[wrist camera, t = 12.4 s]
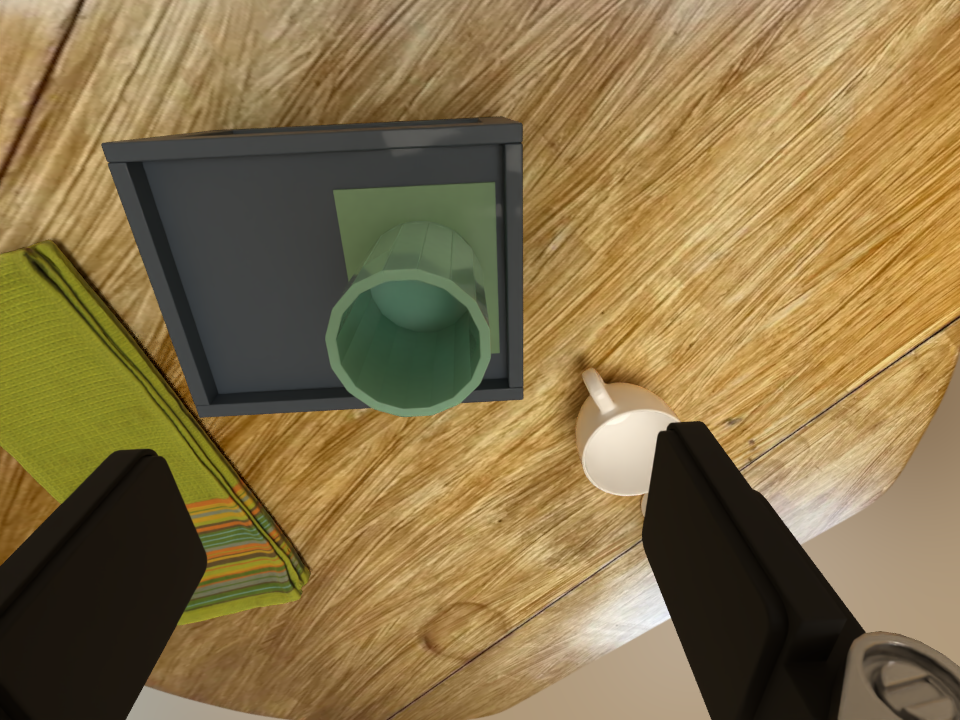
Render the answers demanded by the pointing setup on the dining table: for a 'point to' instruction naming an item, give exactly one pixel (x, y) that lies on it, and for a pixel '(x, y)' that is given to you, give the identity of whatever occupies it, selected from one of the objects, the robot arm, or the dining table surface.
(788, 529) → the robot arm
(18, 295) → the dish towel
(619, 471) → the cup
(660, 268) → the dining table surface
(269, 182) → the tray
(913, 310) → the dining table surface
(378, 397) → the tumbler
